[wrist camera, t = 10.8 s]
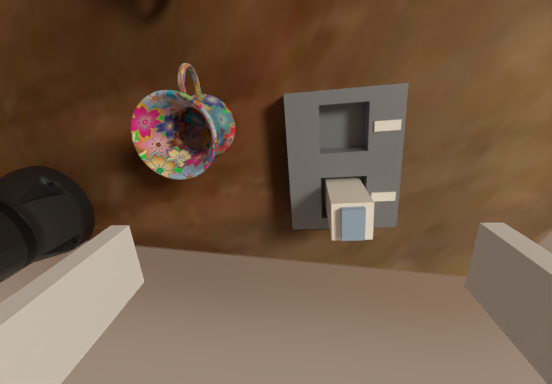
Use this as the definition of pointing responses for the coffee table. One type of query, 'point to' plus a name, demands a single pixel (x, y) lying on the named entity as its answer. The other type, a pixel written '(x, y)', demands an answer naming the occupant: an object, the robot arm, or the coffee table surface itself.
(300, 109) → the panel
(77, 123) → the coffee table surface
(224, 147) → the mug
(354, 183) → the plug
